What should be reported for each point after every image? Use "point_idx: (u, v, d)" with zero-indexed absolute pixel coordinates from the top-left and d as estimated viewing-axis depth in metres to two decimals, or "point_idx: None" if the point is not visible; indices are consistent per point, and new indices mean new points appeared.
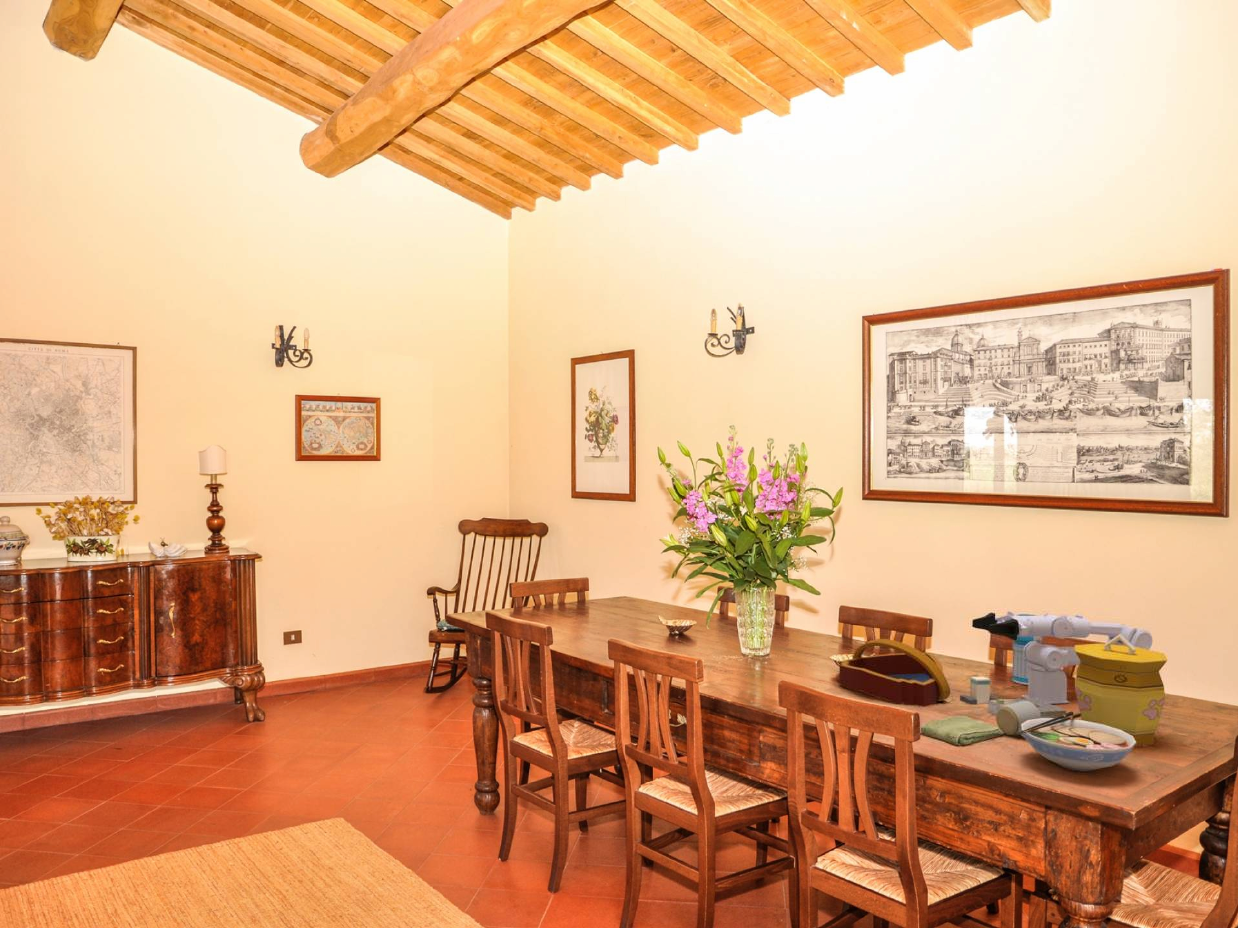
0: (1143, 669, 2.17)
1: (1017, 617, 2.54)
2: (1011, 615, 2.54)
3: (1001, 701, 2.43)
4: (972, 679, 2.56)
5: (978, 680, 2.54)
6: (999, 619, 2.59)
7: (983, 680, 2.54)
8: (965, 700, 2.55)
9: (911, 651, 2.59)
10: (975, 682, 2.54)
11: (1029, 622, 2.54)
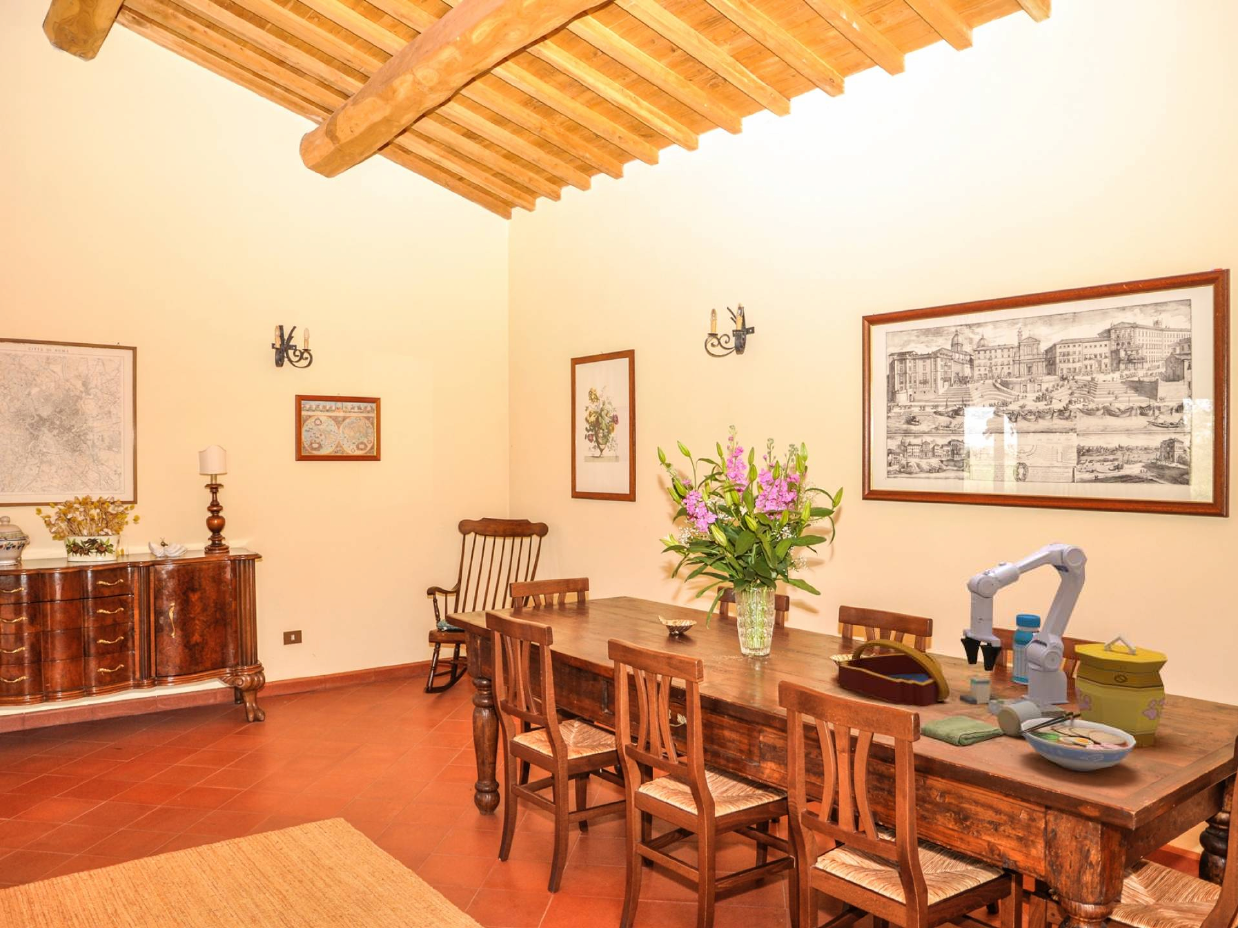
0: (1143, 669, 2.17)
1: (975, 631, 2.54)
2: None
3: (1001, 701, 2.43)
4: (972, 679, 2.56)
5: (978, 680, 2.54)
6: (968, 634, 2.59)
7: (983, 680, 2.54)
8: (965, 700, 2.55)
9: (910, 651, 2.59)
10: (975, 682, 2.54)
11: (982, 621, 2.53)
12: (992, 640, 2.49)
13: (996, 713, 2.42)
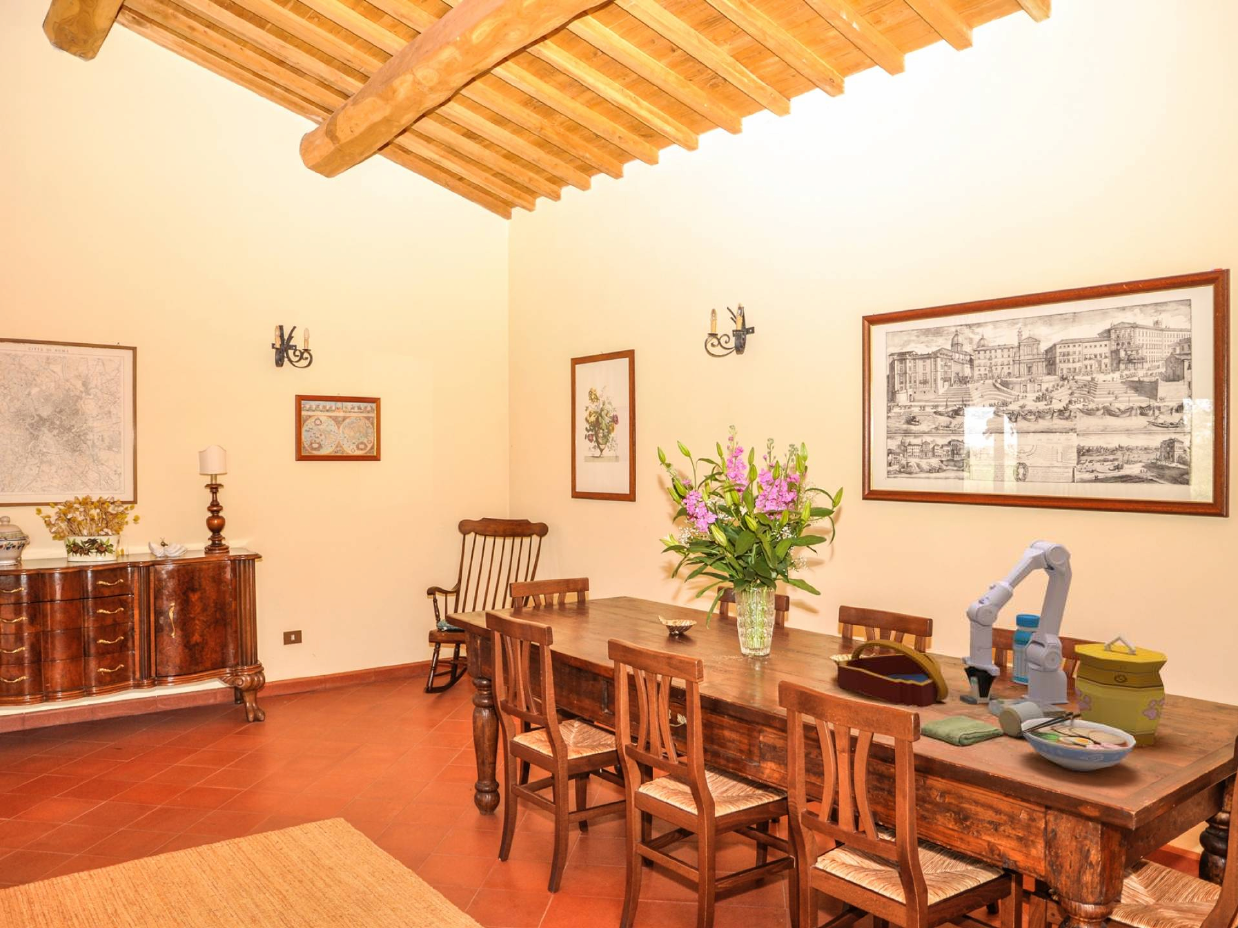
0: (1143, 669, 2.17)
1: (974, 659, 2.54)
2: (972, 665, 2.54)
3: (1001, 701, 2.43)
4: (972, 679, 2.56)
5: None
6: None
7: None
8: (965, 700, 2.55)
9: (909, 652, 2.58)
10: (975, 682, 2.54)
11: (981, 650, 2.53)
12: (991, 669, 2.49)
13: (996, 713, 2.42)
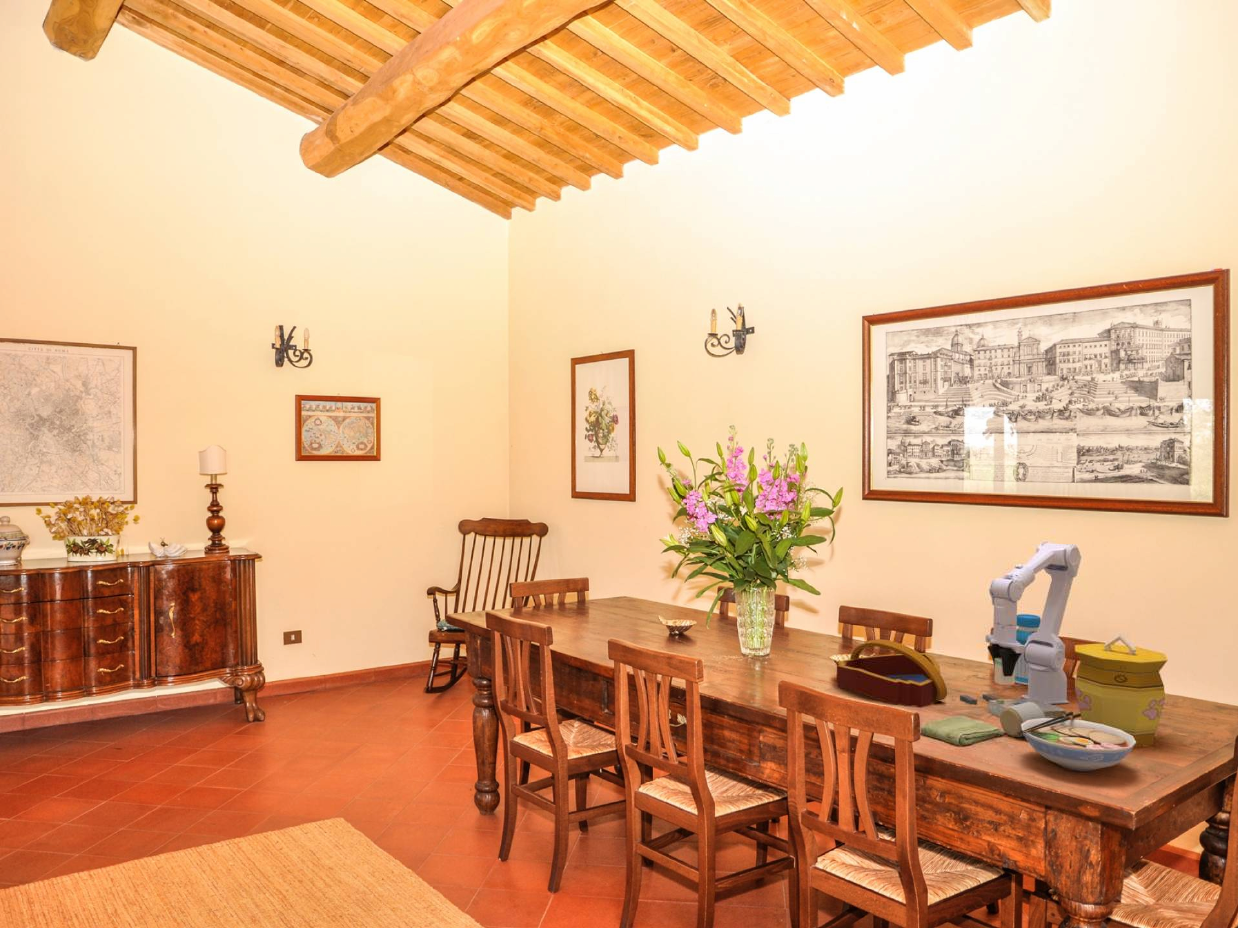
0: (1143, 669, 2.17)
1: (998, 636, 2.46)
2: None
3: (1001, 701, 2.43)
4: (996, 660, 2.48)
5: None
6: None
7: None
8: (965, 700, 2.55)
9: (908, 652, 2.58)
10: (999, 663, 2.47)
11: (1005, 627, 2.45)
12: (1016, 646, 2.41)
13: (996, 713, 2.42)
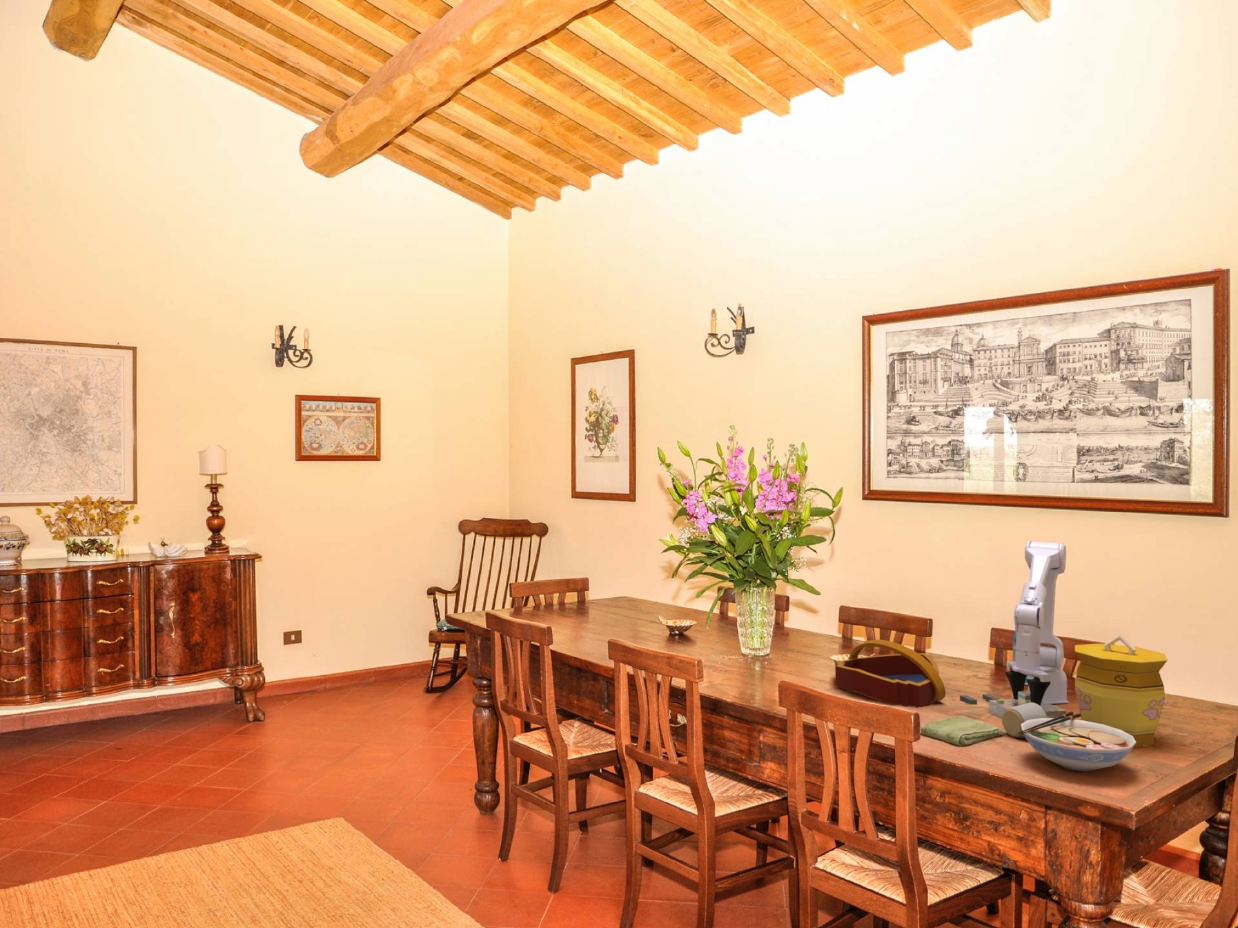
0: (1143, 669, 2.17)
1: (1021, 664, 2.39)
2: (1019, 671, 2.39)
3: (1001, 701, 2.43)
4: (1020, 694, 2.41)
5: (1027, 695, 2.39)
6: None
7: None
8: (965, 700, 2.55)
9: (907, 652, 2.58)
10: (1023, 697, 2.40)
11: (1028, 654, 2.38)
12: (1040, 675, 2.34)
13: (996, 713, 2.42)
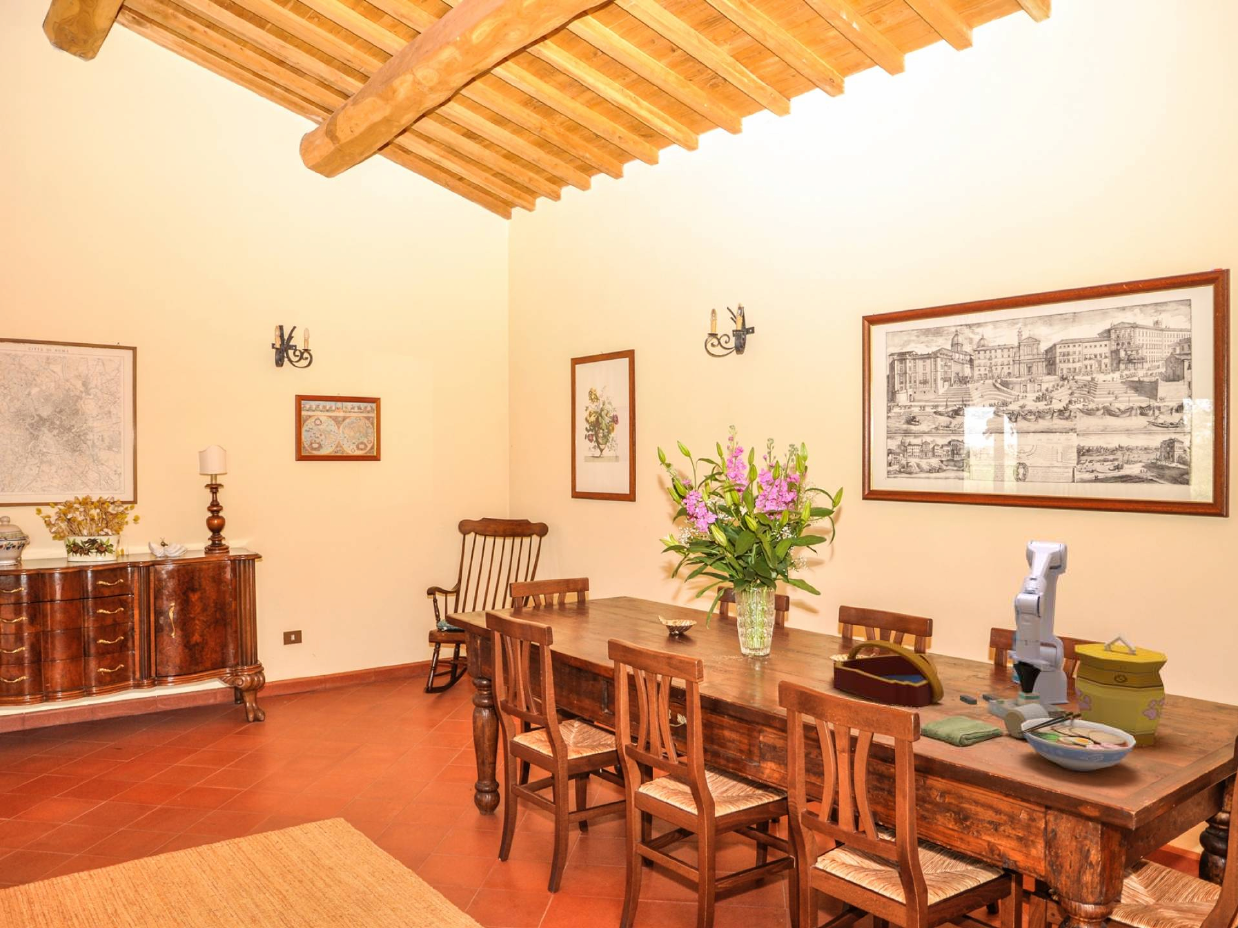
0: (1143, 669, 2.17)
1: (1021, 653, 2.39)
2: None
3: (1001, 701, 2.43)
4: (1020, 694, 2.41)
5: (1027, 695, 2.39)
6: None
7: (1032, 695, 2.39)
8: (965, 700, 2.55)
9: (905, 652, 2.57)
10: (1023, 697, 2.40)
11: (1029, 643, 2.38)
12: (1041, 664, 2.34)
13: (996, 713, 2.42)
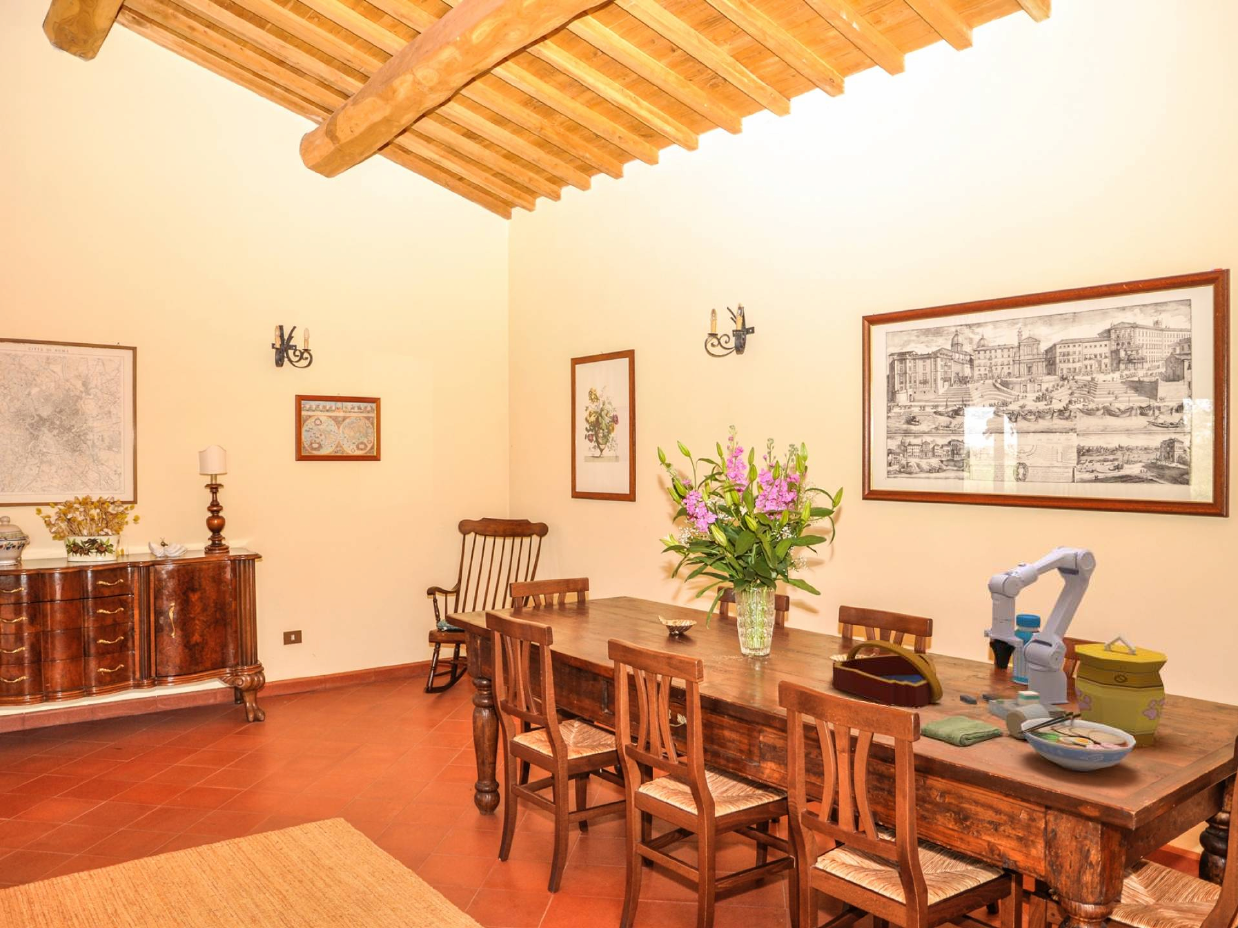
0: (1143, 669, 2.17)
1: (997, 631, 2.51)
2: (994, 638, 2.51)
3: (1001, 701, 2.43)
4: (1020, 694, 2.41)
5: (1027, 695, 2.39)
6: None
7: (1032, 695, 2.39)
8: (965, 700, 2.55)
9: (904, 652, 2.57)
10: (1023, 697, 2.40)
11: (1004, 622, 2.50)
12: (1015, 641, 2.46)
13: (996, 713, 2.42)
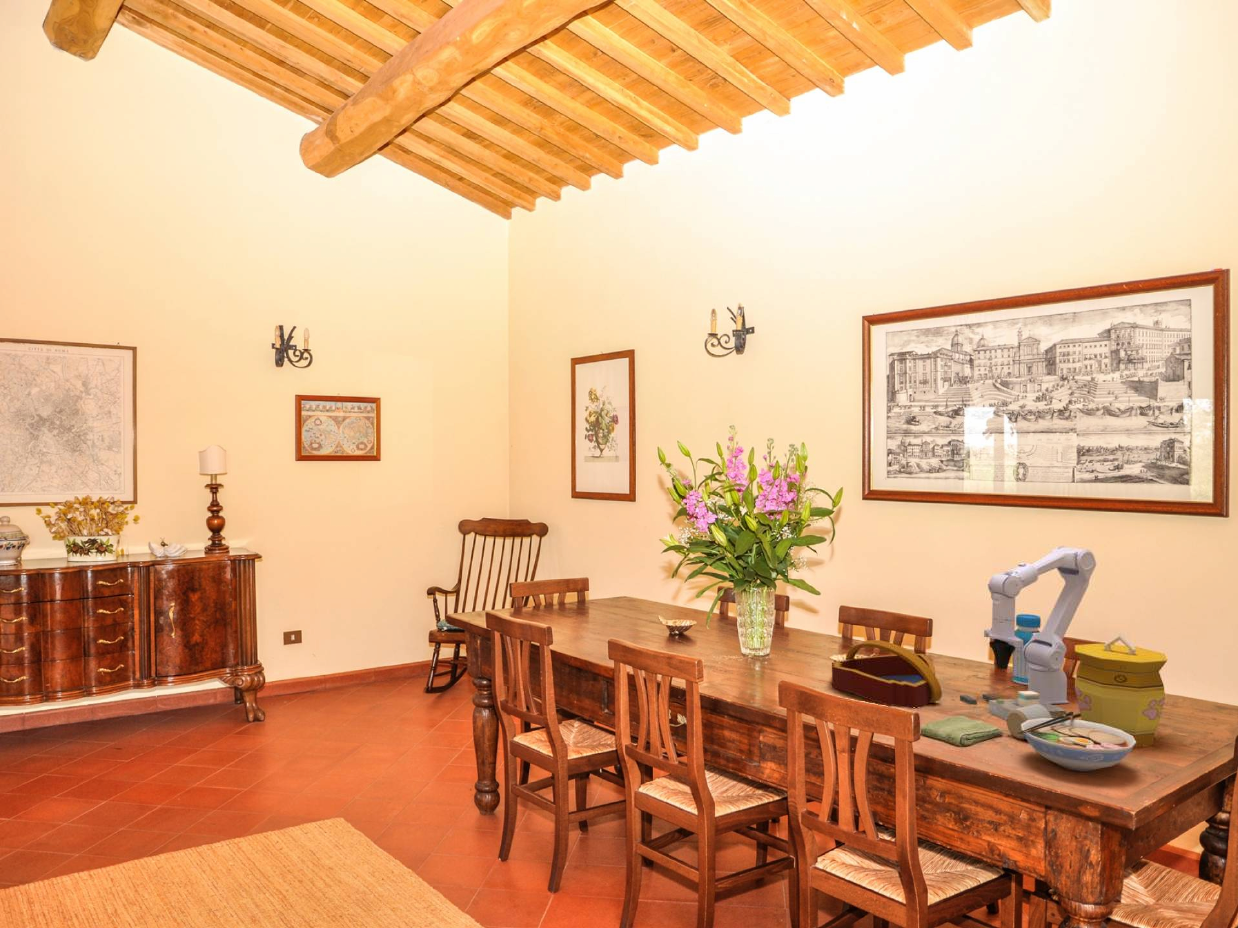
0: (1143, 669, 2.17)
1: (997, 631, 2.51)
2: (994, 638, 2.51)
3: (1001, 701, 2.43)
4: (1020, 694, 2.41)
5: (1027, 695, 2.39)
6: None
7: (1032, 695, 2.39)
8: (965, 700, 2.55)
9: (903, 652, 2.57)
10: (1023, 697, 2.40)
11: (1004, 622, 2.50)
12: (1015, 641, 2.46)
13: (996, 713, 2.42)
